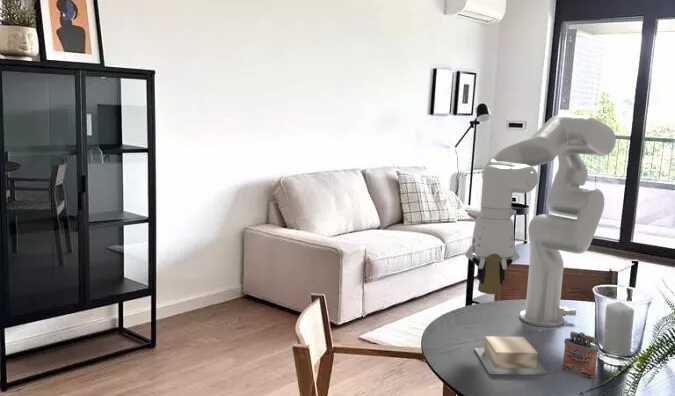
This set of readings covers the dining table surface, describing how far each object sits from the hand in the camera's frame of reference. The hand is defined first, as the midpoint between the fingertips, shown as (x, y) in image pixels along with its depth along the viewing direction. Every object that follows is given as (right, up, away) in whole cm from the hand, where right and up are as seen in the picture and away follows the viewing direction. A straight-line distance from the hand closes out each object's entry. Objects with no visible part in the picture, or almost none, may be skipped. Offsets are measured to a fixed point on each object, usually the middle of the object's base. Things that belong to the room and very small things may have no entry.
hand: (490, 282), depth 164 cm
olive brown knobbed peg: (0, -3, 0) cm, 2 cm away
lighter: (+18, -21, -12) cm, 30 cm away
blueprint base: (+3, -19, -7) cm, 20 cm away
